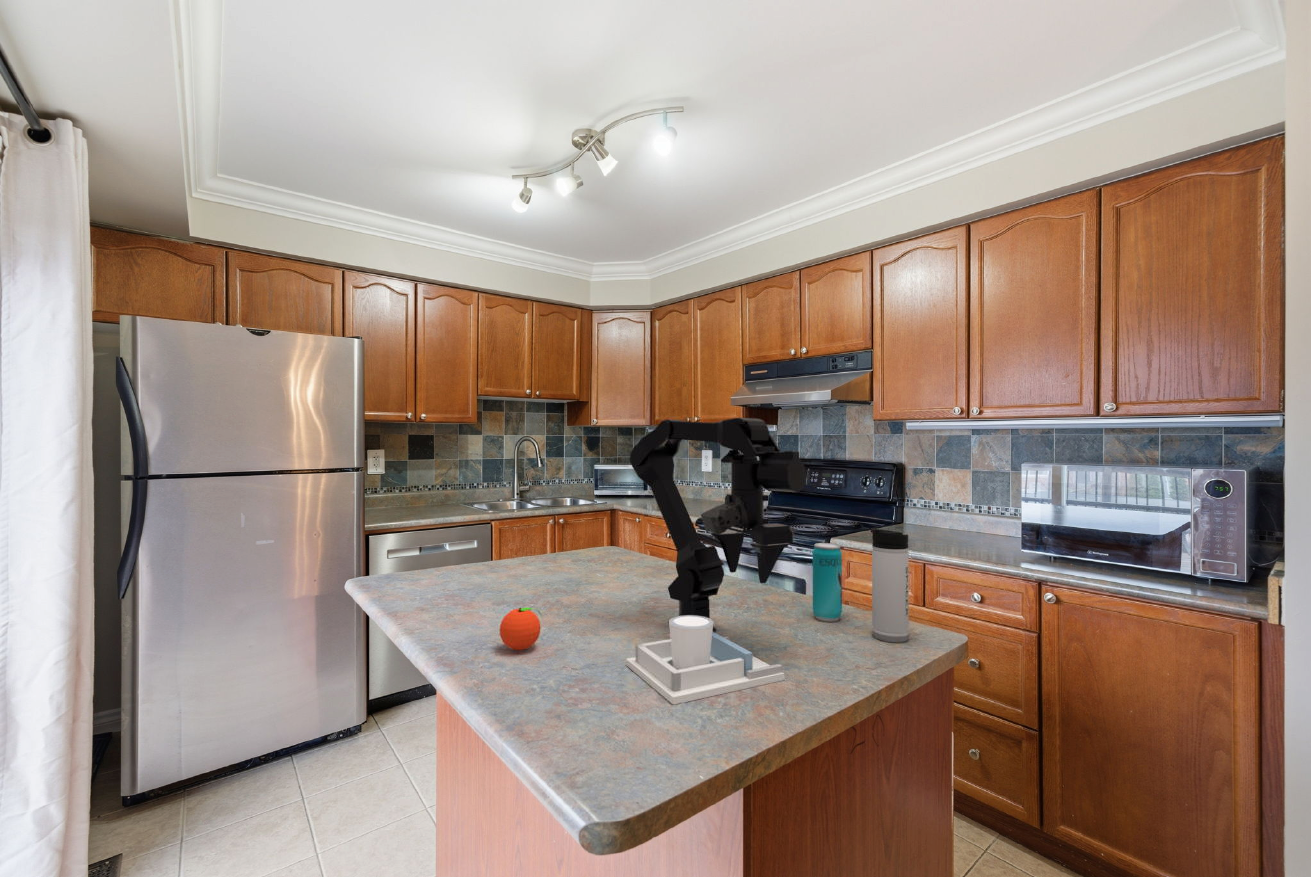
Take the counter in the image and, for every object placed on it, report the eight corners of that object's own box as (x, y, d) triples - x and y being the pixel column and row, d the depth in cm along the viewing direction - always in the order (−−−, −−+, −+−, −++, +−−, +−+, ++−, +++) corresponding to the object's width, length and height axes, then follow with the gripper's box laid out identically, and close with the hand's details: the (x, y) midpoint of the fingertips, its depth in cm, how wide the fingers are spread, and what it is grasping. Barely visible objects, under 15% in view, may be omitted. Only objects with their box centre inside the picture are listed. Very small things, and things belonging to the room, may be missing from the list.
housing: (625, 664, 93) (626, 643, 93) (725, 646, 102) (725, 626, 102) (673, 704, 79) (673, 678, 79) (784, 679, 87) (784, 656, 87)
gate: (700, 648, 98) (700, 629, 98) (706, 647, 98) (706, 628, 98) (745, 675, 86) (745, 654, 86) (752, 674, 87) (752, 652, 87)
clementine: (531, 638, 106) (531, 599, 106) (553, 647, 101) (553, 606, 101) (491, 648, 101) (492, 607, 101) (513, 659, 96) (513, 616, 96)
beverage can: (843, 623, 115) (843, 547, 116) (813, 621, 116) (813, 546, 117) (840, 615, 121) (840, 543, 121) (811, 613, 122) (811, 542, 122)
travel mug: (864, 632, 110) (864, 526, 110) (898, 631, 110) (897, 526, 111) (880, 643, 104) (880, 531, 104) (915, 642, 104) (915, 530, 105)
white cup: (718, 661, 92) (718, 616, 92) (707, 677, 85) (707, 629, 85) (676, 656, 94) (676, 612, 94) (663, 671, 87) (663, 624, 88)
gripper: (682, 486, 108) (681, 571, 108) (738, 494, 91) (738, 594, 91) (732, 485, 113) (732, 566, 112) (795, 492, 96) (795, 587, 96)
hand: (747, 577), depth 103 cm, fingers open, 9 cm apart
